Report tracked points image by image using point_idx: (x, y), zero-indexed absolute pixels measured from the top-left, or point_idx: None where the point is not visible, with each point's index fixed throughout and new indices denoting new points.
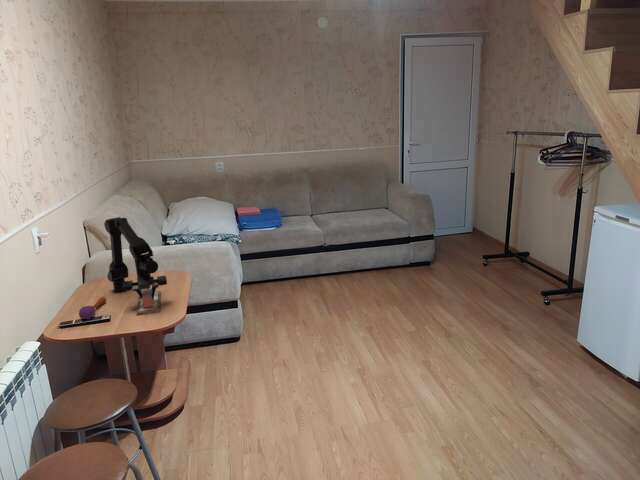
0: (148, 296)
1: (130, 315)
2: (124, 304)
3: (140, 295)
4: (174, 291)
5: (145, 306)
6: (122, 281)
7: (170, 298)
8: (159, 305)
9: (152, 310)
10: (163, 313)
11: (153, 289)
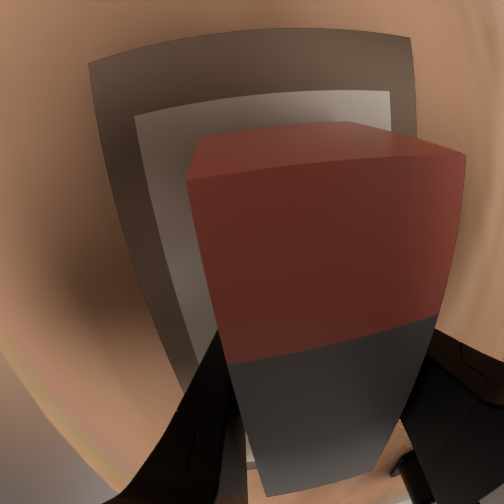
0: (297, 256)
1: (449, 81)
2: (458, 338)
3: (447, 349)
4: (134, 458)
5: (322, 124)
6: (425, 490)
7: (106, 390)
8: (124, 216)
9: (195, 48)
10: (54, 14)
11: (173, 499)
